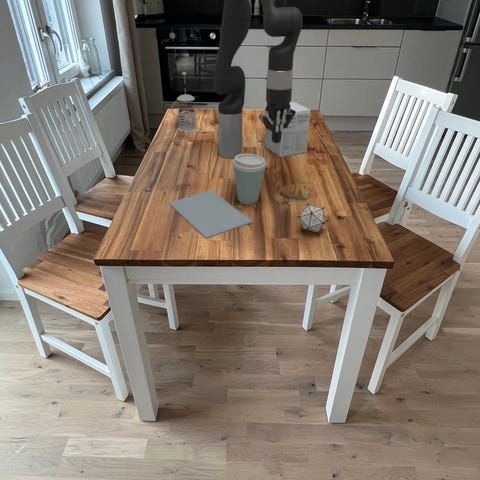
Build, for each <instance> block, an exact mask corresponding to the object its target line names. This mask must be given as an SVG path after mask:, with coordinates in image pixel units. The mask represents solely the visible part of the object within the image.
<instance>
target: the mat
mask: <svg viewBox="0 0 480 480" xmlns="http://www.w3.org/2000/svg"><path fill="white" fill-rule="evenodd" d="M168 205H170V206H171V208H173V209H174V210H175V212H177V213H178V214H180V216H181V217H182V218H184V220H186V221H187V222H188V223H189V224H190V225H191V226H192V228H194V229H195V230H196V231H197V232H198V233H199V234H200V235H201V236H202V237H203V238H204V239H209V238H212V237H215V236H218V235H220V234H223V233H227V232H229V231H232V230H235V229H238V228H240V227H243V226H246V225H249V224H252V223H253V220H251V219H250V218H249V217H247V216H246V215H245V214H243V213H242V211H240V210H238V209H237V208H236V207H234V206H233V205H231V204H230V203H229V202H228V201H226V200H225V199H224V198H222V197H221V196H220V195H219V194H217V193H216V192H215V191H213V190H208V191H205V192H201V193H197V194H194V195H191V196H188V197H185V198H181V199H177V200H173V201H170V202H168Z"/></svg>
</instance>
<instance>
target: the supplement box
mask: <svg viewBox="0 0 480 480" xmlns="http://www.w3.org/2000/svg"><path fill="white" fill-rule="evenodd" d="M266 106H267V104H266V105H265V107H266ZM290 108H291V109H292V110H295V111H296V113H295V115H294V117H293V118H292V120H291V122H290V123H289V125H288V127H287V128H284V129H283V130H282V137H281V141H280V143H274V142H273V141H272V131H271V130H268V129H267V128H266V127H265V126H264V127H265V130H264V131H265V132H264V147H265V148H266V149H268V150H270V152H272V153H274V154H275V155H276V156H278V157H279V158H283V157H288V156H294V155H299V154H303V153H307V148H308V140H309V139H308V138H309V133H310V132H309V131H310V120H311V112H312V110H311V109H310V108H307V107H305V106H304V105H301V104H299V103H297V102H295V101H291V102H290ZM268 117H269V116H268ZM269 121H270V118H269ZM286 121H287V120H286ZM285 123H286V122H285Z"/></svg>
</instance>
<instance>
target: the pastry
mask: <svg viewBox="0 0 480 480" xmlns="http://www.w3.org/2000/svg"><path fill="white" fill-rule="evenodd" d="M309 192H310V191H309V185H308V184H306V185H305V184H299V183H296V184H292V185H290V184H288V185H285V186H283V187H282V188H281V189H280V193H281V195H282V196H284V197H287V198H290V199H295V200H301V201H302V200H307V199H308V197H309V196H308V195H309V194H310V193H309Z"/></svg>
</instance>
